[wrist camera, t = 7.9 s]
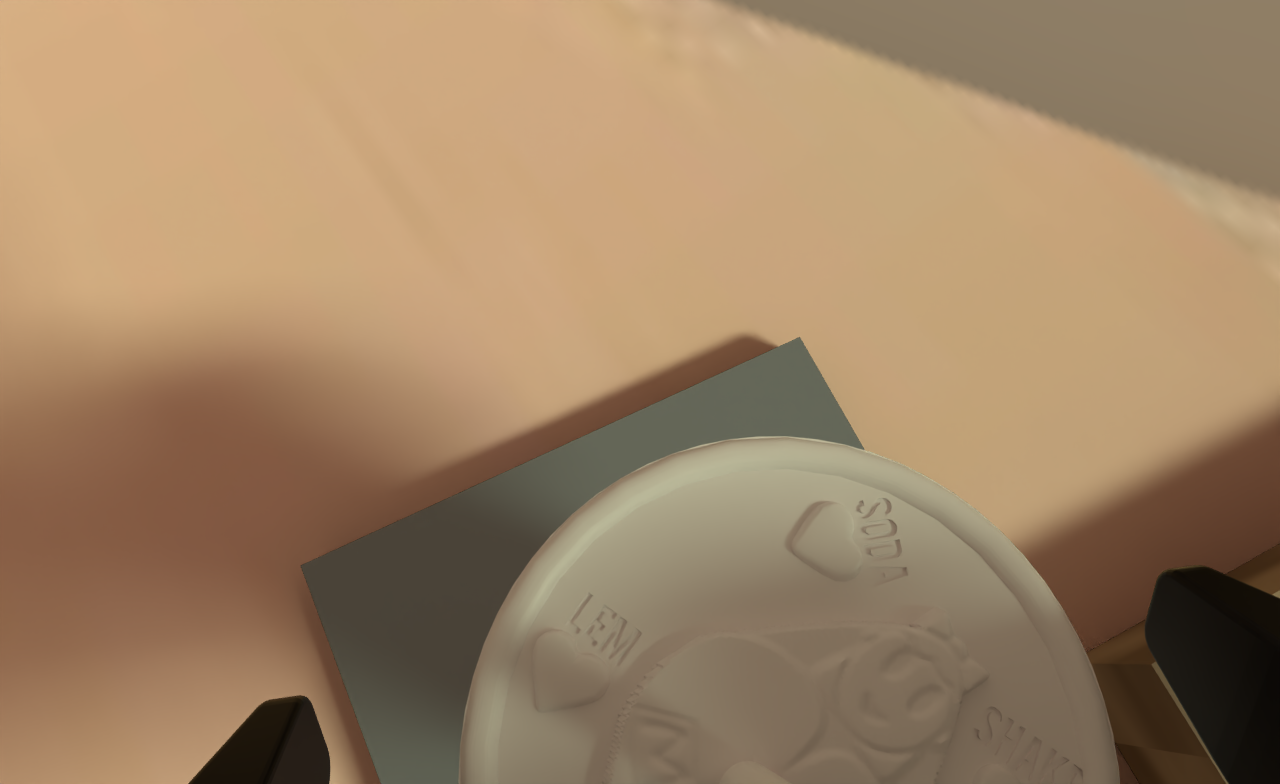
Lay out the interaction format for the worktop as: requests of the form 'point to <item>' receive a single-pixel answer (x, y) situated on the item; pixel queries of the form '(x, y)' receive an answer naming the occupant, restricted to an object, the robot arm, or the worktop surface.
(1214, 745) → the robot arm
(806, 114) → the worktop surface
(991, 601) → the smoothie
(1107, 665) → the holder
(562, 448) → the coaster
